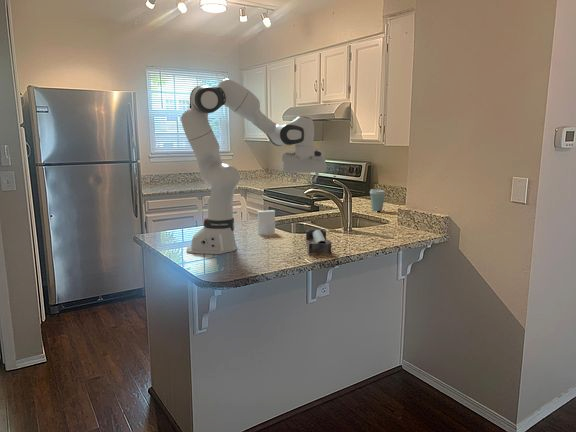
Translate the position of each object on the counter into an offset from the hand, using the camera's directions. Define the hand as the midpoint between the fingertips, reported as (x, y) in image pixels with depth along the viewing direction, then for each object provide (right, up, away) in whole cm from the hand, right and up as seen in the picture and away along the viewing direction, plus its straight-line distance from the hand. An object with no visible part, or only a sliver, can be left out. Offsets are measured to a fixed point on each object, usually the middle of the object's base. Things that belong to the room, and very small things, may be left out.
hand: (304, 182), depth 202 cm
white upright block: (-19, -25, +25) cm, 40 cm away
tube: (+7, -29, -3) cm, 30 cm away
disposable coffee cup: (+53, -13, +90) cm, 105 cm away
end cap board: (+6, -30, -3) cm, 31 cm away
